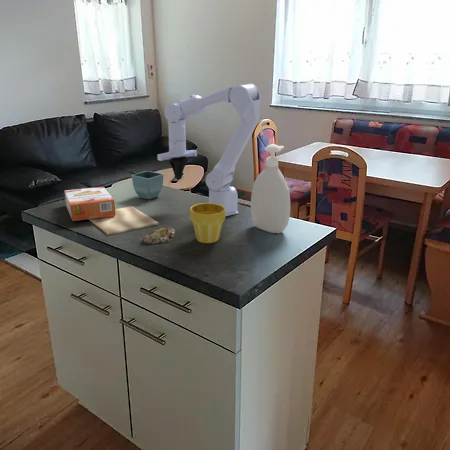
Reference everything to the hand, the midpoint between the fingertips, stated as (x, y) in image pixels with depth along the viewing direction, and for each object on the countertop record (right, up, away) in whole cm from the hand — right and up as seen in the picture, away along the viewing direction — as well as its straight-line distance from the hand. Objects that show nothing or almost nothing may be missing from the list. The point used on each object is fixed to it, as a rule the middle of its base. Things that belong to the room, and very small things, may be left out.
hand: (178, 178), depth 160 cm
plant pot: (+11, -21, -24) cm, 34 cm away
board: (-18, -15, -10) cm, 25 cm away
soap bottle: (+31, -18, -16) cm, 39 cm away
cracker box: (-26, -12, -13) cm, 31 cm away
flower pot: (-13, -6, +14) cm, 20 cm away
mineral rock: (-3, -21, -24) cm, 32 cm away
